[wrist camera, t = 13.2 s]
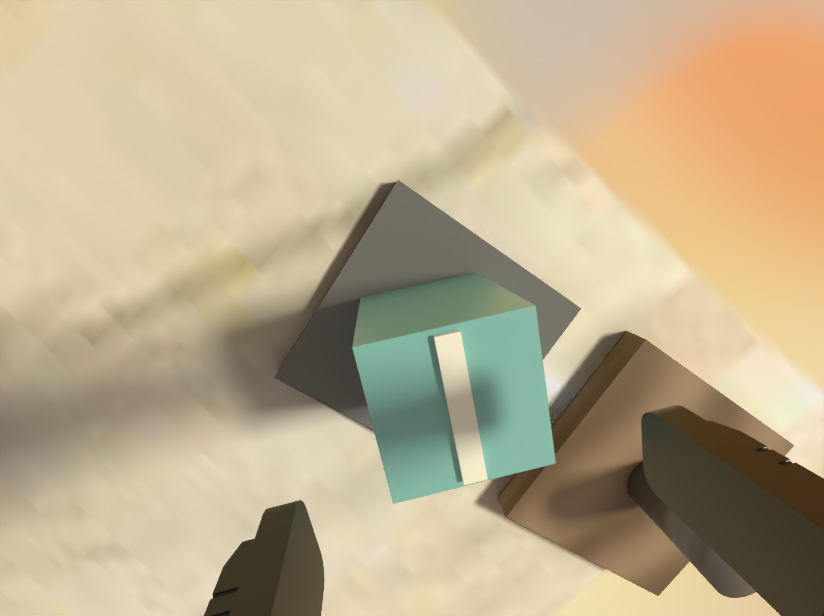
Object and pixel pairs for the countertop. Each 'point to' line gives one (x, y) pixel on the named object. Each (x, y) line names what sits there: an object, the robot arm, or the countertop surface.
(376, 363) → the striped teal box
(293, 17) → the countertop surface
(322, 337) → the mat
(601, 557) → the post base
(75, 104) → the countertop surface
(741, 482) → the robot arm
